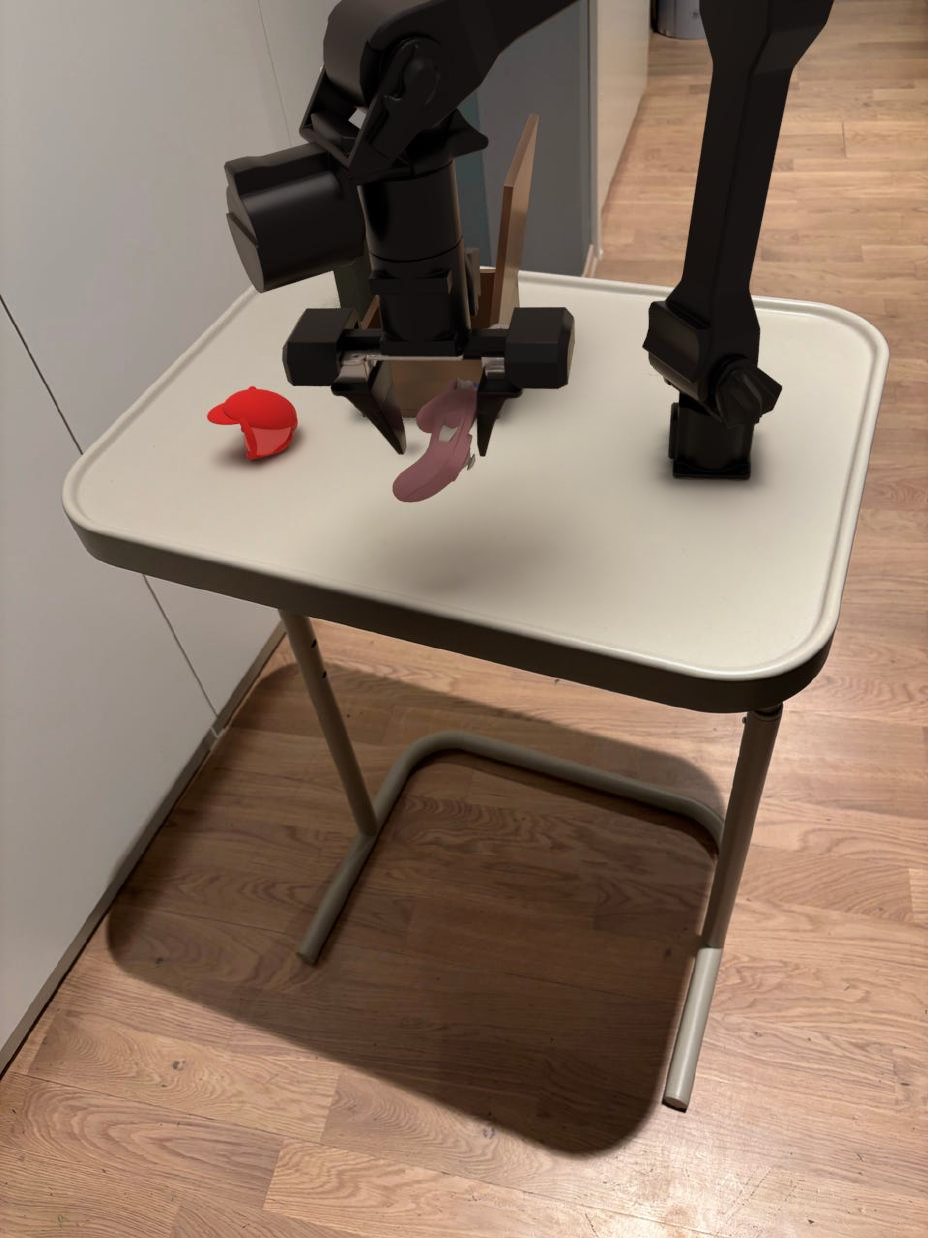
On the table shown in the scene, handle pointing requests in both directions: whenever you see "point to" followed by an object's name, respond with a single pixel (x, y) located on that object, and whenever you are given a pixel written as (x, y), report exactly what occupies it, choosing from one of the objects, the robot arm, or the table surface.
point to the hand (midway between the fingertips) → (443, 452)
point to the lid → (513, 221)
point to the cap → (258, 419)
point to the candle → (355, 282)
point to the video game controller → (441, 443)
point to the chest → (433, 377)
